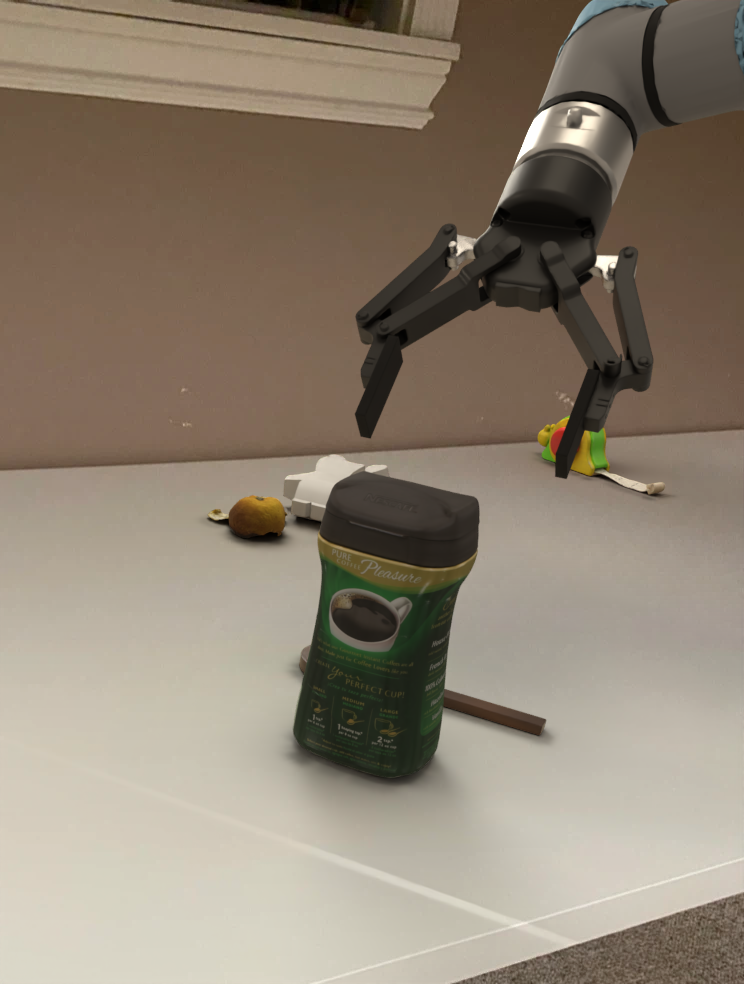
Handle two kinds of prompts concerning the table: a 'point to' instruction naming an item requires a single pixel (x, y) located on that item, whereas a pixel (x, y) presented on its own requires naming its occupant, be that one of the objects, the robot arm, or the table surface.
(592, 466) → the toy measuring tape
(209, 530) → the table surface
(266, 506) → the fruit
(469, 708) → the spoon
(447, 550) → the coffee jar
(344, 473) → the white toy figure
